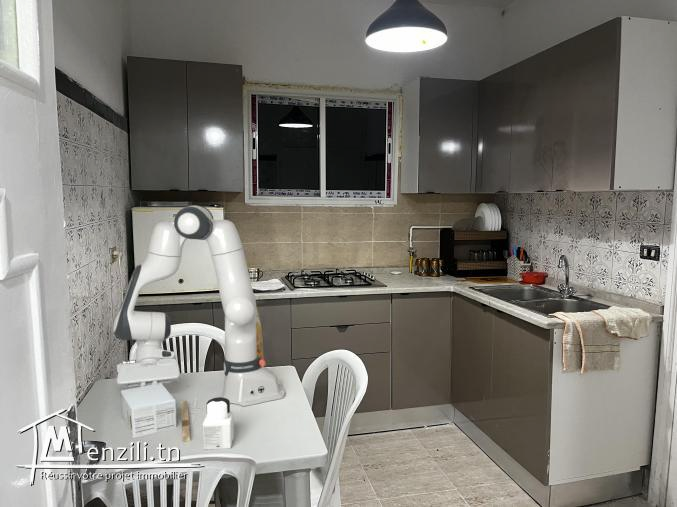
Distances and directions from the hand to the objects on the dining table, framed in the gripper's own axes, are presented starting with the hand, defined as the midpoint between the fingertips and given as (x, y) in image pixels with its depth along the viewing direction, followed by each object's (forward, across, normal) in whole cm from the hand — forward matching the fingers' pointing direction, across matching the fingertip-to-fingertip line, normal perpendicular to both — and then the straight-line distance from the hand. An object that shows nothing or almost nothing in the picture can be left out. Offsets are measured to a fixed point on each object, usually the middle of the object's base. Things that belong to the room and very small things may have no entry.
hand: (149, 396), depth 168 cm
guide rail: (+13, +11, -6) cm, 18 cm away
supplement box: (+11, 0, -3) cm, 11 cm away
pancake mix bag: (-10, +36, +17) cm, 41 cm away
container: (+25, +20, -18) cm, 37 cm away
